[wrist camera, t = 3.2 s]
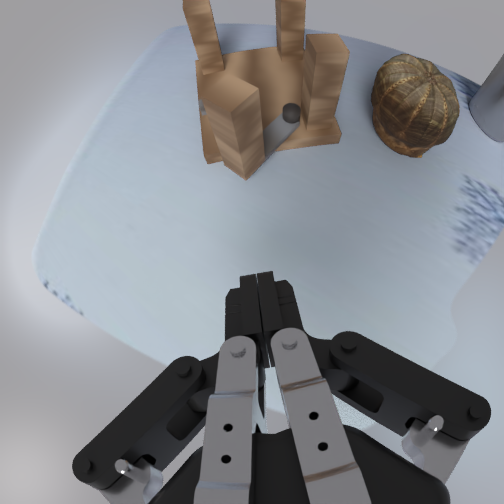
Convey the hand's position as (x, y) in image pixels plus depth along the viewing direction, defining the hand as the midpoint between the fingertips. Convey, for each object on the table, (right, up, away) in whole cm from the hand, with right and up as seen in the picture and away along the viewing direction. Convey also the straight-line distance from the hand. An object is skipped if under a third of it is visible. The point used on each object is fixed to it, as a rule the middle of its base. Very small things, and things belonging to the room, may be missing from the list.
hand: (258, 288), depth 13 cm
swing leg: (+1, +14, +17) cm, 22 cm away
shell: (+19, +17, +19) cm, 32 cm away
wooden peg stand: (+1, +22, +21) cm, 31 cm away
